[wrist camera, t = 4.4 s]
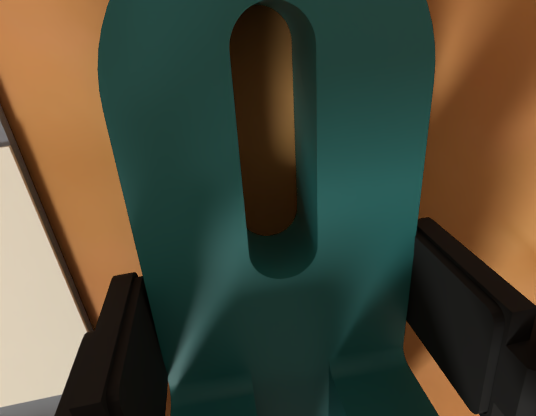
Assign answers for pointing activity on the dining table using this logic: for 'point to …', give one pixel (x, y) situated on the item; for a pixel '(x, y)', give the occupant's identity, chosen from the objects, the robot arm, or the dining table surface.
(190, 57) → the bracket
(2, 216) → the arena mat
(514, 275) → the dining table surface
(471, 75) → the dining table surface
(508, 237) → the dining table surface
